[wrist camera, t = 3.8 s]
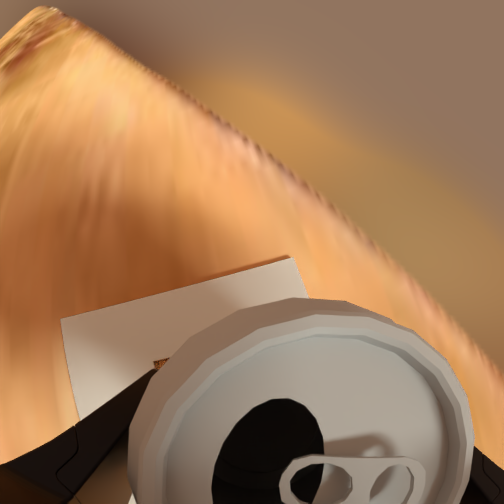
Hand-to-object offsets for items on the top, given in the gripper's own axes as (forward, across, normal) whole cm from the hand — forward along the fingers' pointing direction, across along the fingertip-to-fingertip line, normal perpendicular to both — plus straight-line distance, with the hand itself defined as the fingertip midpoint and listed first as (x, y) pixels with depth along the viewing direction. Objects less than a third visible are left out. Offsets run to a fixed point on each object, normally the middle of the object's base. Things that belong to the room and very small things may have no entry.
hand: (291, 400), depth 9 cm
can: (+4, 0, +6) cm, 7 cm away
